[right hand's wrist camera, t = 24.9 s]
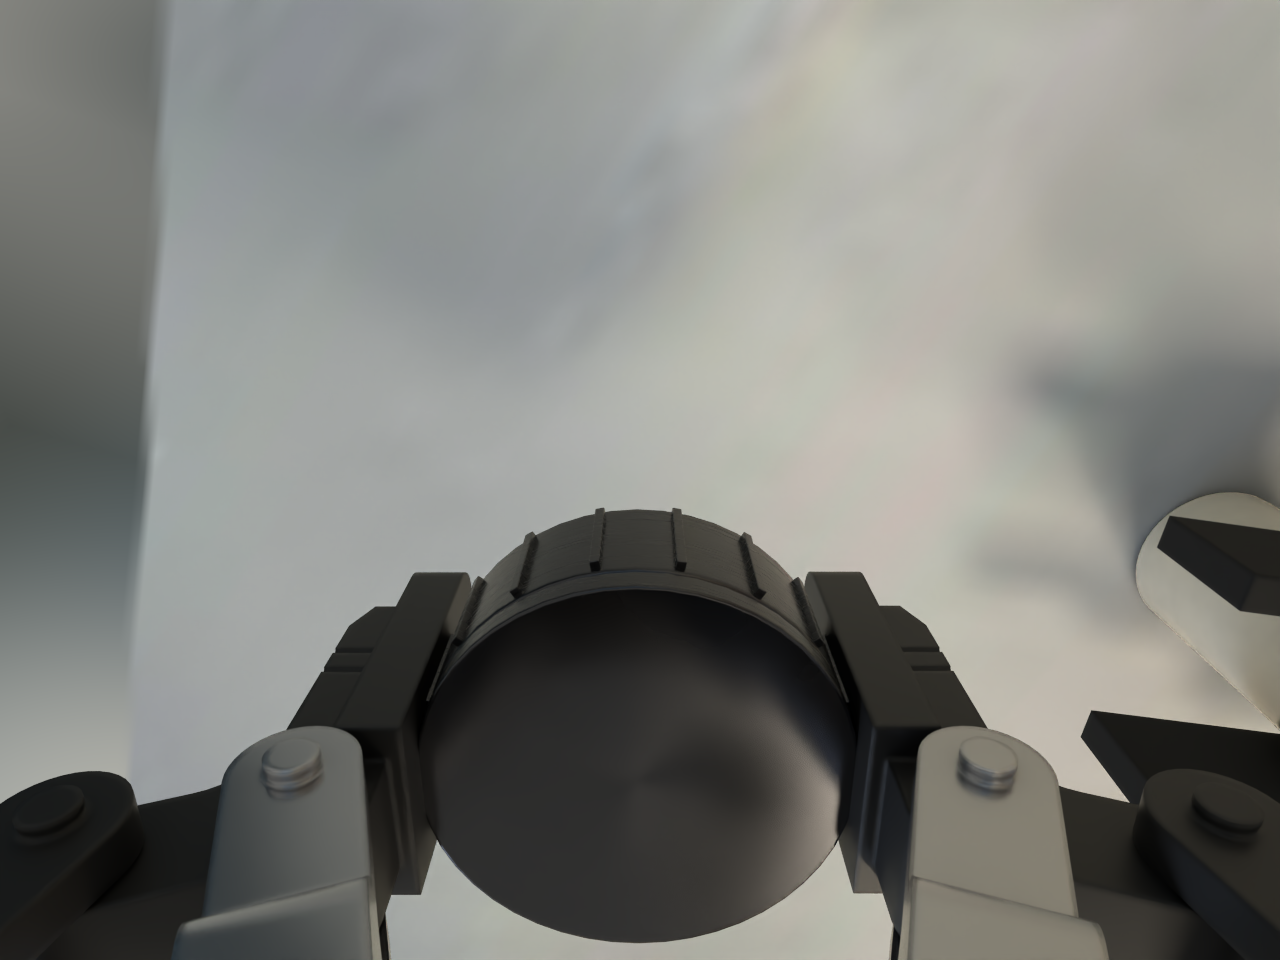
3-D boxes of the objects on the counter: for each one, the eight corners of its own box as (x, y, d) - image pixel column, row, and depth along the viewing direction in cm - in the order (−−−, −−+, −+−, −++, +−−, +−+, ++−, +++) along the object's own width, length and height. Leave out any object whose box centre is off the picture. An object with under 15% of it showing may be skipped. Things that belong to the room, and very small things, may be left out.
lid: (374, 706, 11) (323, 816, 10) (596, 421, 10) (585, 485, 8) (669, 879, 12) (674, 1006, 11) (907, 644, 11) (961, 745, 9)
